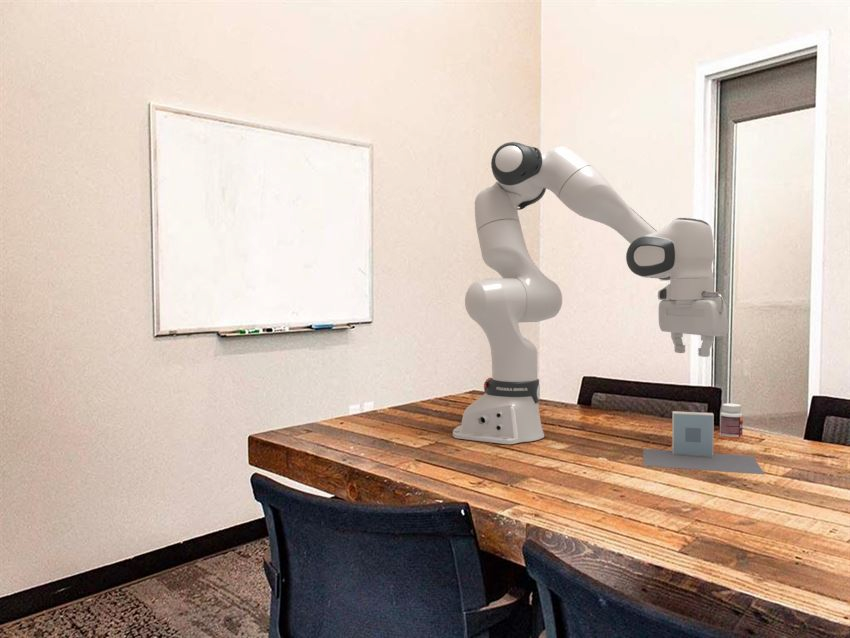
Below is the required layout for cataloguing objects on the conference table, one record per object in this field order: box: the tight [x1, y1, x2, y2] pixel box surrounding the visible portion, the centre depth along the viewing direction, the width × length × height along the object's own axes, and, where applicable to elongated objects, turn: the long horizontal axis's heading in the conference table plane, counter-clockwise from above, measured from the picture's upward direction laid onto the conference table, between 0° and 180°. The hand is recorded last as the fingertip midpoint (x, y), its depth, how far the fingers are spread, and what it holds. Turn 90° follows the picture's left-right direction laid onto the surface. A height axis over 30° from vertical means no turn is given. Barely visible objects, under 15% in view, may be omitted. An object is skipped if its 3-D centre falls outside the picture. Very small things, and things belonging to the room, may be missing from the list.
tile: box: [671, 410, 715, 457], centre depth 138 cm, size 8×2×9 cm, turn 72°
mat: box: [642, 448, 765, 476], centre depth 134 cm, size 22×14×1 cm, turn 72°
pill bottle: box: [719, 403, 744, 441], centre depth 153 cm, size 5×5×8 cm
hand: (691, 354), depth 142 cm, fingers open, 7 cm apart
